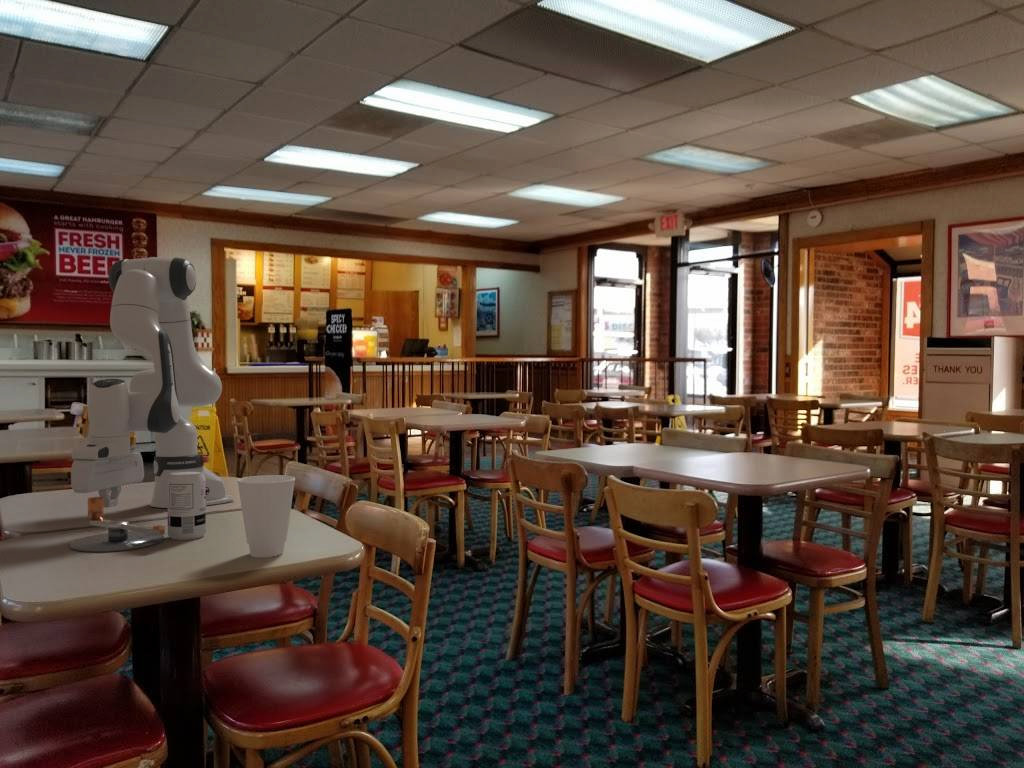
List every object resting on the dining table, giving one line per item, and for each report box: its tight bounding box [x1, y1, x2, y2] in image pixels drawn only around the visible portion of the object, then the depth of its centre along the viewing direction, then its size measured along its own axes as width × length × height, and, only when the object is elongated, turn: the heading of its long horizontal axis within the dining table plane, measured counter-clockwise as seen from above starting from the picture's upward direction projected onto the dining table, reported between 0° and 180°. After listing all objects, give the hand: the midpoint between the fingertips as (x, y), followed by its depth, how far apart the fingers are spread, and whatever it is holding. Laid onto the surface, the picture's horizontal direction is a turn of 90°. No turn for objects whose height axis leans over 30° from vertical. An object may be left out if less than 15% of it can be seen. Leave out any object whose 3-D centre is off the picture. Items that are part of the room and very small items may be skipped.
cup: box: [236, 474, 296, 558], centre depth 172 cm, size 12×12×16 cm
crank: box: [87, 496, 166, 535], centre depth 181 cm, size 25×4×6 cm, turn 61°
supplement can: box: [167, 471, 207, 541], centre depth 189 cm, size 8×8×15 cm
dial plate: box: [69, 529, 165, 553], centre depth 183 cm, size 19×19×3 cm
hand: (110, 506), depth 191 cm, fingers closed
